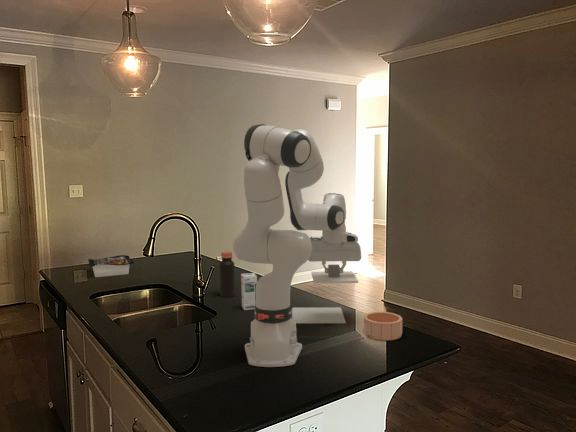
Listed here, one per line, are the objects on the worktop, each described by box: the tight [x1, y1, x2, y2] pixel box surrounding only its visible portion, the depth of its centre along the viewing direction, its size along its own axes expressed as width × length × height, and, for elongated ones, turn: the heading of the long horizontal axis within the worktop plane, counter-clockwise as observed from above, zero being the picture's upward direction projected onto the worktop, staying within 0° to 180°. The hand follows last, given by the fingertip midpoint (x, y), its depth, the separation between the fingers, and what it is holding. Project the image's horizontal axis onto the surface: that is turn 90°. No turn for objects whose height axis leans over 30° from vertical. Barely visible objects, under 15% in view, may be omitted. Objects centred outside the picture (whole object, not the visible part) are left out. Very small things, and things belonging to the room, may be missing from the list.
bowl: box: [363, 311, 403, 342], centre depth 171 cm, size 13×13×6 cm
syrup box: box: [240, 272, 258, 311], centre depth 203 cm, size 6×6×14 cm
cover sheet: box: [311, 264, 359, 284], centre depth 183 cm, size 16×16×5 cm
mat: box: [291, 306, 347, 324], centre depth 190 cm, size 20×20×1 cm
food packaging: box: [87, 254, 135, 278], centre depth 274 cm, size 25×8×23 cm
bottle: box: [219, 251, 236, 298], centre depth 223 cm, size 7×7×20 cm
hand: (333, 272), depth 183 cm, fingers closed on cover sheet, 4 cm apart
